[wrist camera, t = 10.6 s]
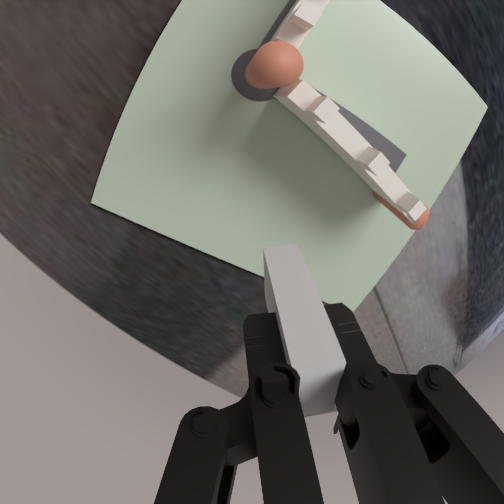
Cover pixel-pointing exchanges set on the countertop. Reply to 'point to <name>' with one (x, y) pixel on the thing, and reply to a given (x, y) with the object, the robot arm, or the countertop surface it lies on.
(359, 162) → the swing panel
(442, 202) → the countertop surface
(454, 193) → the countertop surface
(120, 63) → the countertop surface
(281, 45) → the fixed fence
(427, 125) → the card
